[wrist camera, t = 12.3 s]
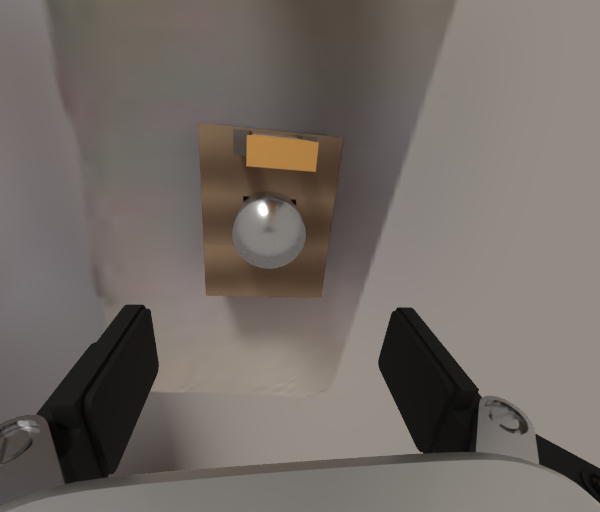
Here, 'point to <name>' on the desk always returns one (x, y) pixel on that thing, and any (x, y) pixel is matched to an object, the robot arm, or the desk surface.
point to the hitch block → (249, 180)
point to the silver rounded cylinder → (268, 230)
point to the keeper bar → (281, 152)
